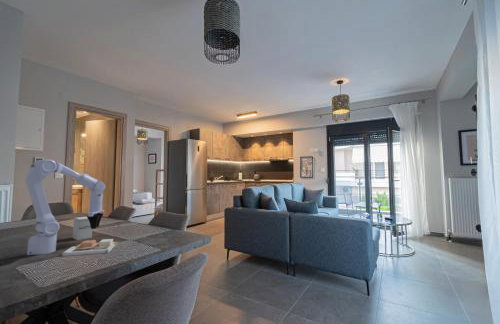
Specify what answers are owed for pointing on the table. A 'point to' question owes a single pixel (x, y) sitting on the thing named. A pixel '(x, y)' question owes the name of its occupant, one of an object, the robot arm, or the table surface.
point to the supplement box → (81, 228)
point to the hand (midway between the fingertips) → (94, 227)
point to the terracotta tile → (88, 243)
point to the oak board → (94, 246)
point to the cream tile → (105, 242)
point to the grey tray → (70, 253)
